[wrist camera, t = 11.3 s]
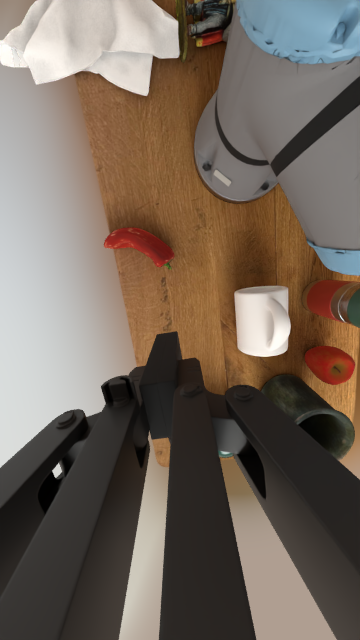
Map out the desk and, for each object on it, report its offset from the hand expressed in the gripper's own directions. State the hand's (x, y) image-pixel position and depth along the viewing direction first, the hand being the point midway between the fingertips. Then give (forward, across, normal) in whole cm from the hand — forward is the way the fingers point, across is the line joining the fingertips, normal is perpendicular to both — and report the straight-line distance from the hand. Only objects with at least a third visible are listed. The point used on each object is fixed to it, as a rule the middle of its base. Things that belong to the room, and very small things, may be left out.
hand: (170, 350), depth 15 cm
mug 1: (+24, +14, -5) cm, 28 cm away
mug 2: (+24, +18, -25) cm, 40 cm away
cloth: (+24, -6, +40) cm, 47 cm away
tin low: (+24, +26, -4) cm, 36 cm away
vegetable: (+22, +1, +6) cm, 23 cm away
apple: (+24, +25, -15) cm, 38 cm away
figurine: (+22, +7, +37) cm, 44 cm away
